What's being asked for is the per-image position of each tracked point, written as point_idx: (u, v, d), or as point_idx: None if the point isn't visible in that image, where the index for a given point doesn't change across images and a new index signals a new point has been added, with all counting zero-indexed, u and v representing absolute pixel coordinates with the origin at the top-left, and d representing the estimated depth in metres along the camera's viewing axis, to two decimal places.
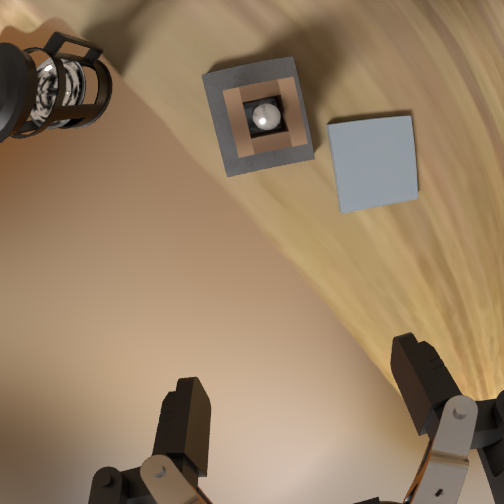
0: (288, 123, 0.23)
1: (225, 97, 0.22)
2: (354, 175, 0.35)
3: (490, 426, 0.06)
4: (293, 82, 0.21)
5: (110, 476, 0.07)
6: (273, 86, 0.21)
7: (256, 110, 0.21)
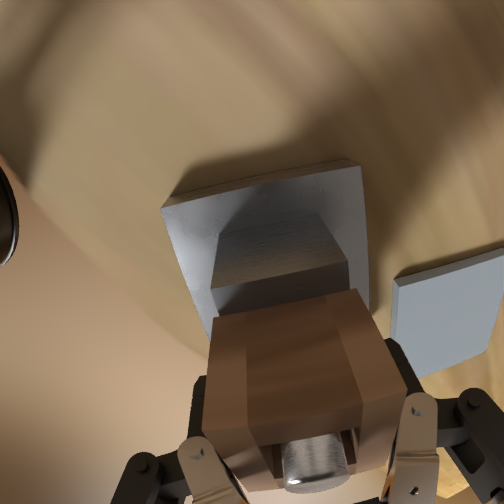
0: (360, 456, 0.08)
1: (212, 440, 0.07)
2: (417, 347, 0.21)
3: (452, 425, 0.07)
4: (402, 400, 0.07)
5: (146, 463, 0.08)
6: (345, 418, 0.07)
7: (294, 480, 0.07)
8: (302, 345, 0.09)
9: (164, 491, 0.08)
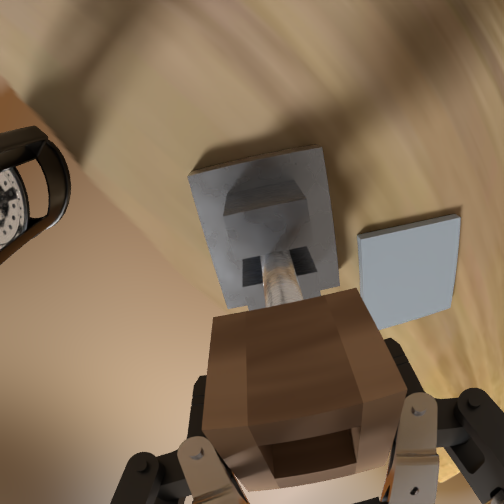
0: (359, 456, 0.09)
1: (212, 439, 0.07)
2: (383, 295, 0.28)
3: (451, 425, 0.07)
4: (402, 400, 0.07)
5: (146, 463, 0.08)
6: (345, 417, 0.07)
7: None
8: (302, 345, 0.09)
9: (164, 491, 0.08)
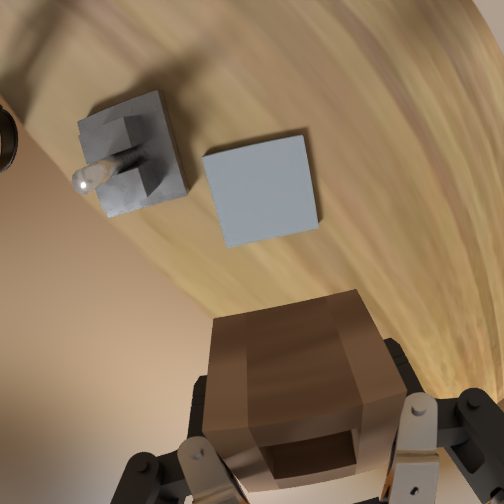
0: (359, 457, 0.09)
1: (212, 441, 0.07)
2: (235, 208, 0.35)
3: (452, 425, 0.07)
4: (401, 401, 0.07)
5: (146, 463, 0.08)
6: (346, 419, 0.07)
7: (73, 177, 0.21)
8: (302, 346, 0.09)
9: (164, 491, 0.08)
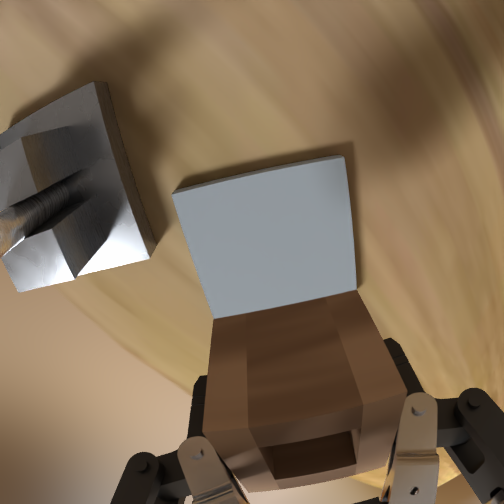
0: (359, 457, 0.09)
1: (212, 441, 0.07)
2: (230, 276, 0.22)
3: (452, 425, 0.07)
4: (402, 401, 0.07)
5: (146, 463, 0.08)
6: (346, 419, 0.07)
7: None
8: (302, 347, 0.09)
9: (164, 491, 0.08)
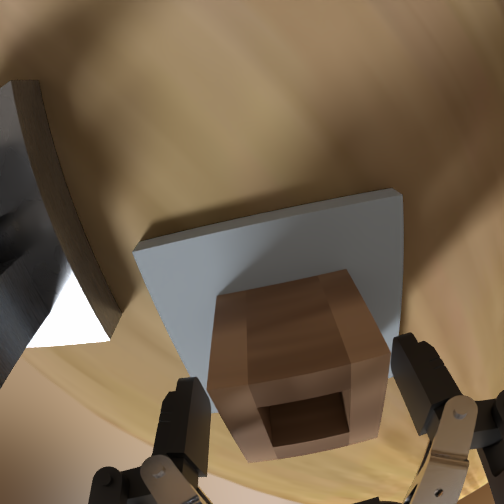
0: (352, 424, 0.10)
1: (215, 400, 0.09)
2: None
3: (490, 426, 0.06)
4: (387, 363, 0.08)
5: (110, 476, 0.07)
6: (336, 379, 0.08)
7: None
8: (297, 316, 0.11)
9: (133, 503, 0.07)
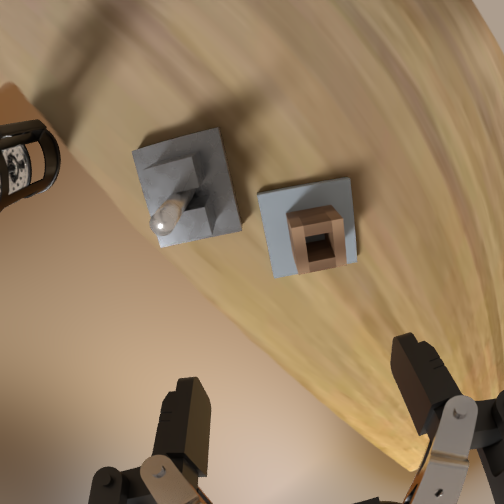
0: (335, 251, 0.33)
1: (293, 233, 0.32)
2: (285, 243, 0.38)
3: (490, 426, 0.06)
4: (342, 222, 0.31)
5: (110, 476, 0.07)
6: (327, 226, 0.32)
7: (152, 218, 0.24)
8: (315, 214, 0.34)
9: (133, 503, 0.07)
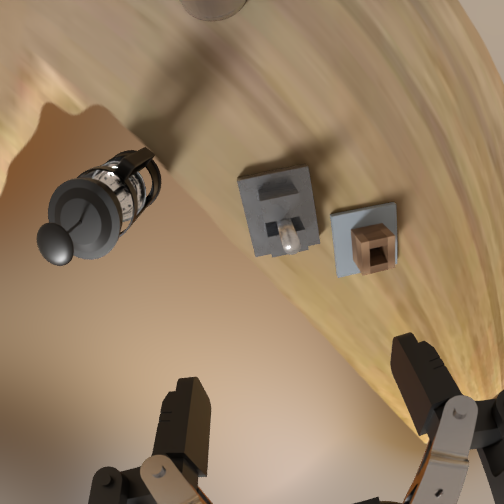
0: (388, 258, 0.44)
1: (362, 246, 0.43)
2: (348, 251, 0.49)
3: (490, 426, 0.06)
4: (394, 238, 0.42)
5: (110, 476, 0.07)
6: (385, 241, 0.43)
7: (285, 242, 0.35)
8: (373, 231, 0.45)
9: (132, 503, 0.07)
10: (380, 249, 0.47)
